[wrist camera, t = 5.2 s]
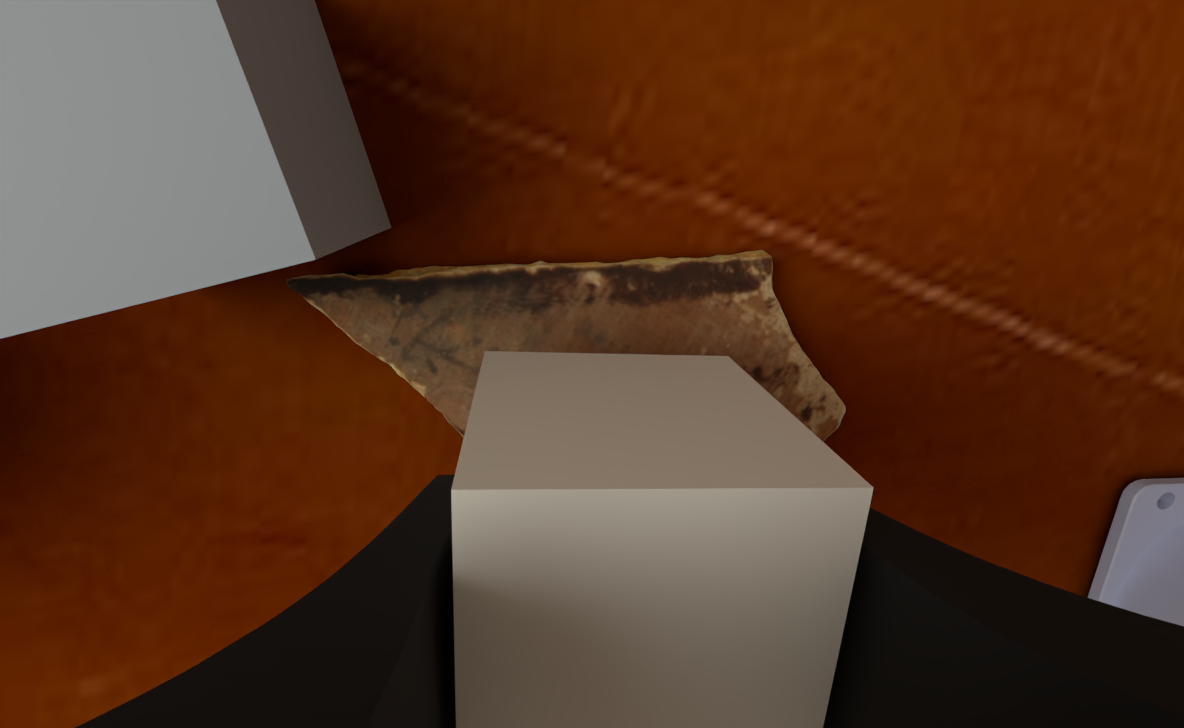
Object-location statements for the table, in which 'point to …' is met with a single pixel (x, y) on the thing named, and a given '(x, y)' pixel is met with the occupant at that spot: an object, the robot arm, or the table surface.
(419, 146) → the table surface
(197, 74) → the slate block
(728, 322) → the shard
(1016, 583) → the robot arm
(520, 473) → the cream block
